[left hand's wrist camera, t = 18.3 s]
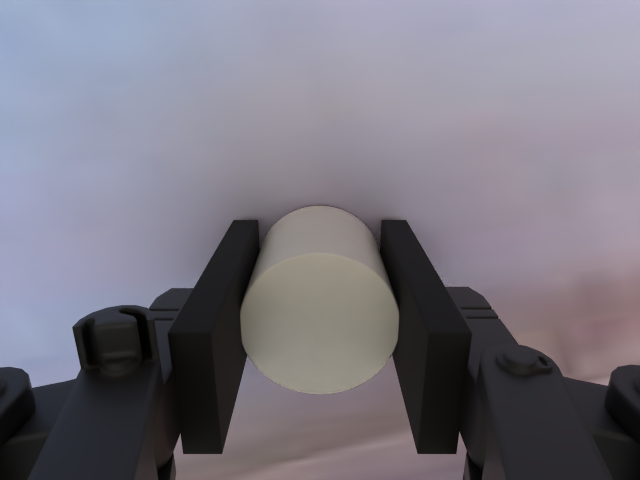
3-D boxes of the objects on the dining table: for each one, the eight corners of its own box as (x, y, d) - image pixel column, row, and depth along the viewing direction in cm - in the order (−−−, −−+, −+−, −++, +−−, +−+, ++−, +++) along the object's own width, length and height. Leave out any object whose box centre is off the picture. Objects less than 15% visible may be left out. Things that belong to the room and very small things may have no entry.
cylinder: (394, 296, 15) (418, 370, 11) (284, 330, 16) (273, 411, 12) (358, 188, 14) (373, 230, 10) (240, 227, 14) (212, 283, 11)
